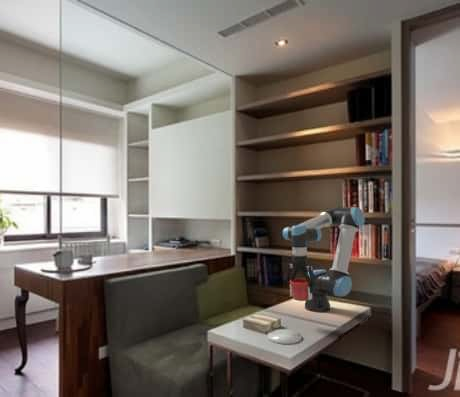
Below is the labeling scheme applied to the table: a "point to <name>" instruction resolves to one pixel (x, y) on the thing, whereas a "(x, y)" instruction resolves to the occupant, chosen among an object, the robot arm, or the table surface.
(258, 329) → the stand
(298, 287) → the flower pot
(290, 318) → the table surface
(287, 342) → the pale grey round plate
